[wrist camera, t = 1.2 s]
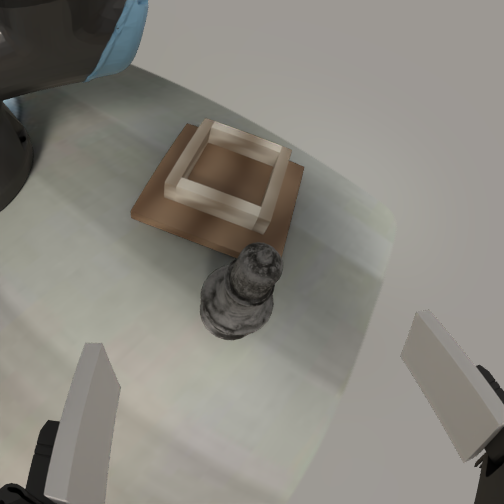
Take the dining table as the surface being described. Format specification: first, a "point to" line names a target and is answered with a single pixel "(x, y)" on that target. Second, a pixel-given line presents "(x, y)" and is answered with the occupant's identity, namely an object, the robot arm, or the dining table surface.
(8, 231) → the dining table surface
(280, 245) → the caddy
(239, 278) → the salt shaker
